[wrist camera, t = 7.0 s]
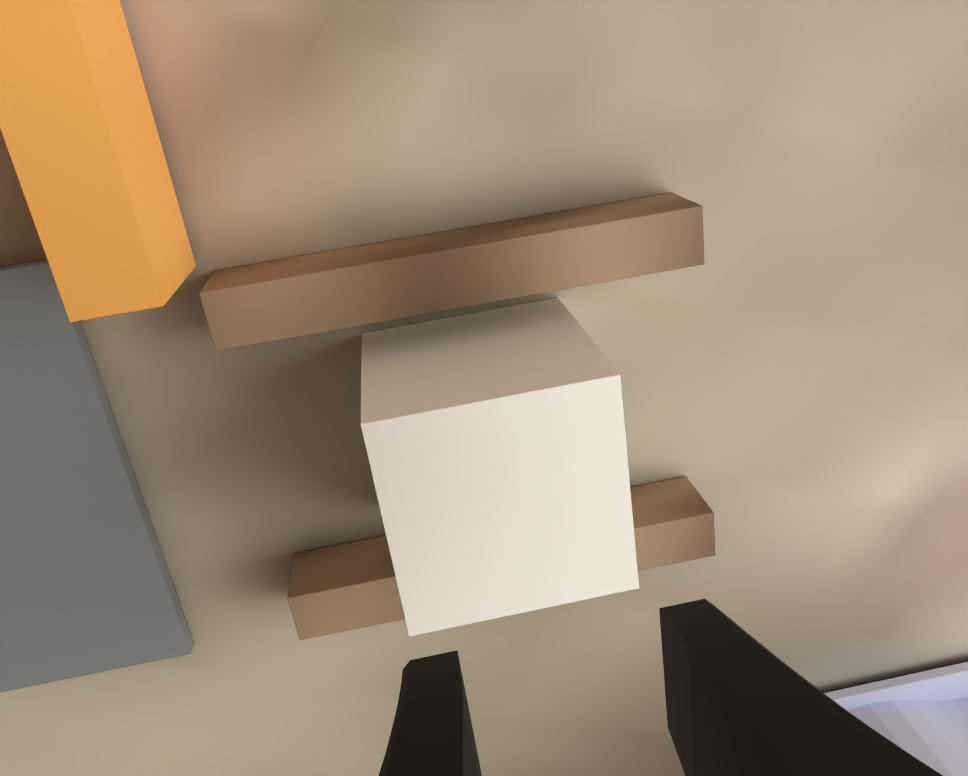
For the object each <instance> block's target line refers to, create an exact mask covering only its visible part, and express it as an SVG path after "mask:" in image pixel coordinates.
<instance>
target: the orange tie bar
mask: <svg viewBox="0 0 968 776" xmlns="http://www.w3.org/2000/svg"><path fill="white" fill-rule="evenodd" d="M0 129H1V132H2V134H3V137H4V140H5V143H6V145H7V148H8V151H9V154H10V157H11V159H12V162H13V165H14V168H15V171H16V173H17V176H18V179H19V182H20V184H21V187H22V190H23V193H24V196H25V198H26V201H27V204H28V207H29V209H30V212H31V215H32V218H33V221H34V223H35V226H36V229H37V232H38V234H39V237H40V240H41V243H42V246H43V248H44V251H45V254H46V257H47V259H48V262H49V265H50V268H51V271H52V273H53V276H54V279H55V282H56V285H57V287H58V290H59V293H60V296H61V298H62V301H63V304H64V307H65V310H66V312H67V315H68V318H69V321H70V322H75V321H81V320H87V319H93V318H98V317H104V316H110V315H116V314H121V313H127V312H133V311H139V310H144V309H150V308H156V307H162V306H164V305H165V304H166V302H167V301H168V300H169V299H170V298H171V296H172V295H173V294H174V293H175V291H176V290H177V289H178V288H179V286H180V285H181V284H182V283H183V282H184V280H185V279H186V278H187V277H188V275H189V274H190V273H191V272H192V270H193V269H194V268H195V267H196V264H195V260H194V257H193V253H192V250H191V246H190V243H189V239H188V236H187V232H186V229H185V225H184V222H183V218H182V215H181V211H180V208H179V205H178V201H177V198H176V194H175V191H174V187H173V184H172V180H171V177H170V173H169V170H168V166H167V163H166V159H165V156H164V152H163V149H162V145H161V142H160V138H159V135H158V131H157V128H156V125H155V121H154V118H153V114H152V111H151V107H150V104H149V100H148V97H147V93H146V90H145V86H144V83H143V79H142V76H141V72H140V69H139V65H138V62H137V58H136V55H135V51H134V48H133V45H132V41H131V38H130V34H129V31H128V27H127V24H126V20H125V17H124V13H123V10H122V6H121V3H120V0H0Z"/></svg>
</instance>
